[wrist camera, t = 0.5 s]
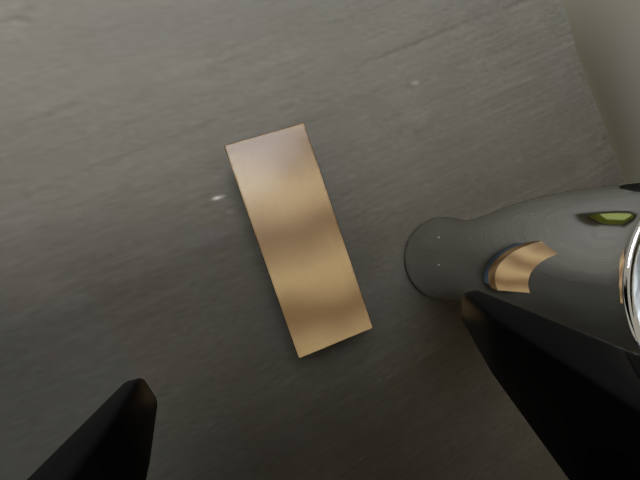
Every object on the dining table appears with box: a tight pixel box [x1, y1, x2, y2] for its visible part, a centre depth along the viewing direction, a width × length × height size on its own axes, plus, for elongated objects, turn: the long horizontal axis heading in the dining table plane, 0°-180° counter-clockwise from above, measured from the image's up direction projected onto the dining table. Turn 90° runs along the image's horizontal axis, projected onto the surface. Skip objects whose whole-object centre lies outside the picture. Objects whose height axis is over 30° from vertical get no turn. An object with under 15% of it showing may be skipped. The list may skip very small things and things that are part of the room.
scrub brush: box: [224, 123, 372, 358], centre depth 21 cm, size 13×5×3 cm, turn 19°
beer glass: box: [405, 183, 640, 355], centre depth 17 cm, size 7×7×15 cm
